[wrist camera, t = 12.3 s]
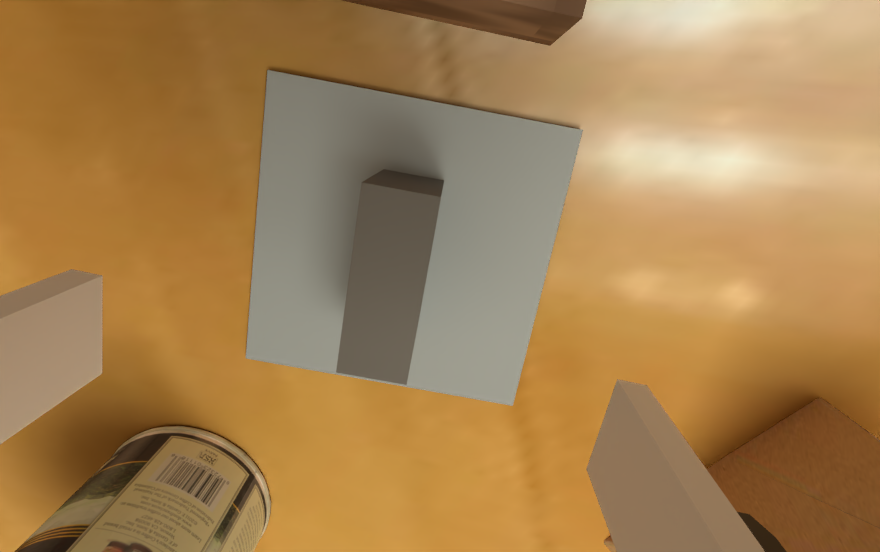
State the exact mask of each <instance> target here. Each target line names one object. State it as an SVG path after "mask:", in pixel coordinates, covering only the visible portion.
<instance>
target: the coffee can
mask: <svg viewBox="0 0 880 552" xmlns="http://www.w3.org/2000/svg"><path fill="white" fill-rule="evenodd" d="M270 509H271V500H270V496H269V490H268V487H267V484H266V481H265V479H264V477H263V475H262V473H261V472H260V470H259V468H258V467H257V466H256V464H255V463H254V462H253V461H252V460H251V459H250V457H249V456H248V455H247V454H246V453H245V452H244V451H242V450H241V449H239V448H238V447H236V446H235V445H234V444H232V443H231V442H229V441H228V440H226V439H224V438H222V437H220V436H218V435H216V434H213V433H211V432H208V431H204V430H201V429H197V428H191V427H185V426H165V427H159V428H153V429H149V430H147V431H144V432H141V433H139V434H137V435H135V436H133V437H132V438H130V439H129V440H127V441H126V442H124V443H123V444H122V445H121V446H120V447H119V448H118V449H117V451H116V452H115V453H114V455H113V456H112V457H111V458H110V459H109V460H108V461H107V462H106V463H105V464H104V465H103V466H102V467H101V468H100V469H99V470H98V471H97V472H96V473H95V474H94V475H93V476H92V477H91V478H90V479H88V480H87V482H86V483H85V484H84V485H83V486H82V487H81V488H80V489H78V490H77V491H76V492H75V493H74V494H73V495H72V496H71V497H70V498H69V499H68V500H67V501H66V502H65V503H64V504H63V505H62V506H61V507H60V508H59V509H58V510H57V511H56V512H55V513H54V514H53V515H52V516H51V517H50V518H49V519H48V520H47V521H46V522H45V523H44V524H43V525H42V526H41V527H40V528H39V529H38V530H37V531H35V532H34V533H33V534H32V535H31V536H30V537H29V538H28V539H27V540H26V541H25V542H24V543H23V544H22V545H21V546H20V547H19V548H18V549H17V550H16V551H15V552H254V550H255V548H256V546H257V544H258V542H259V540H260V538H261V537H262V535H263V533H264V532H265V530H266V528H267V525H268V522H269V517H270Z"/></svg>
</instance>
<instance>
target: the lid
mask: <svg viewBox="0 0 880 552" xmlns="http://www.w3.org/2000/svg"><path fill="white" fill-rule="evenodd" d="M582 131H583V130H580V129H575V128H570V127H564V126H559V125H554V124H549V123H543V122H538V121H533V120H528V119H523V118H517V117H512V116H507V115H502V114H496V113H491V112H486V111H481V110H475V109H470V108H465V107H460V106H454V105H449V104H444V103H439V102H433V101H428V100H423V99H418V98H412V97H407V96H402V95H397V94H392V93H386V92H381V91H376V90H371V89H365V88H360V87H355V86H350V85H344V84H339V83H334V82H329V81H323V80H318V79H313V78H308V77H302V76H297V75H292V74H287V73H281V72H276V71H271V70H267V83H266V96H265V110H264V123H263V136H262V149H261V163H260V176H259V189H258V202H257V216H256V229H255V242H254V255H253V269H252V282H251V295H250V309H249V322H248V335H247V348H246V358H247V359H252V360H258V361H264V362H269V363H275V364H281V365H286V366H292V367H297V368H303V369H309V370H314V371H320V372H326V373H331V374H337V375H343V376H348V377H354V378H359V379H365V380H371V381H376V382H382V383H388V384H393V385H399V386H404V387H410V388H416V389H421V390H427V391H433V392H438V393H444V394H450V395H455V396H461V397H466V398H472V399H478V400H483V401H489V402H495V403H500V404H506V405H511V406H513V403H514V399H515V395H516V391H517V387H518V383H519V379H520V375H521V371H522V367H523V363H524V359H525V355H526V351H527V348H528V344H529V340H530V336H531V332H532V328H533V324H534V320H535V316H536V312H537V308H538V304H539V300H540V296H541V292H542V289H543V285H544V281H545V277H546V273H547V269H548V265H549V261H550V257H551V253H552V249H553V245H554V241H555V237H556V233H557V230H558V226H559V222H560V218H561V214H562V210H563V206H564V202H565V198H566V194H567V190H568V186H569V182H570V178H571V174H572V171H573V167H574V163H575V159H576V155H577V151H578V147H579V143H580V139H581V135H582Z"/></svg>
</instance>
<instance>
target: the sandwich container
mask: <svg viewBox="0 0 880 552" xmlns="http://www.w3.org/2000/svg"><path fill="white" fill-rule="evenodd" d="M707 471H708V472H709V474H710V475H711V476H712V478H713V479H714V481H715V482H716V483H717V485H718V486H719V488H720V489H721V490H722V492H723V493H724V495H725V496H726V497H727V499H728V500H729V502H730V503H731V504H732V506H733V507H734V509H735V510H736V511H737V512H741V513H746V514H750V515H751V516H752V517H753V518H754V519H755V520H757V521H758V522H759V523H760V524H761V525H762V526H763V527H765V528H766V529H767V530H768V531H769V532H770V533H771V534H773V535H774V536H775V537H776V538H777V540H778V541H779V542H780V544H781V545H782V546H783V548H784V549H785V550H786V552H880V440H879V439H877V438H876V437H875V436H873V435H872V434H870V433H869V432H868V431H866V430H865V429H864V428H862V427H861V426H859V425H858V424H857V423H855V422H854V421H853V420H851V419H850V418H848V417H847V416H846V415H844V414H843V413H842V412H840V411H839V410H837V409H836V408H835V407H833V406H832V405H831V404H829V403H828V402H826V401H825V400H824V399H822V398H819V399H815V400H814V401H812V402H811V403H809V404H808V405H806V406H804V407H803V408H801V409H800V410H798V411H796V412H795V413H793V414H792V415H790V416H789V417H787V418H785V419H784V420H782V421H781V422H779V423H777V424H776V425H774V426H773V427H771V428H769V429H768V430H766V431H765V432H763V433H762V434H760V435H758V436H757V437H755V438H754V439H752V440H750V441H749V442H747V443H746V444H744V445H743V446H741V447H739V448H738V449H736V450H735V451H733V452H731V453H730V454H728V455H727V456H725V457H724V458H722V459H721V460H719V461H718V462H717V463H715V464H714V465H712V466H711V467H709V468H708V469H707ZM604 544H605V545H606V546H607V547H608V548H609V550H610V551H611V552H617V551H616V549H615V546H614V543H613V540H612V538H611V536H610V537H609V538H607V539H606V540H604Z"/></svg>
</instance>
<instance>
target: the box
mask: <svg viewBox="0 0 880 552" xmlns="http://www.w3.org/2000/svg"><path fill="white" fill-rule="evenodd" d="M343 1H348V2H352V3H357V4H361V5H366V6H371V7H375V8H380V9H384V10H389V11H394V12H398V13H403V14H407V15H412V16H417V17H421V18H426V19H431V20H435V21H440V22H444V23H449V24H454V25H458V26H463V27H467V28H472V29H477V30H481V31H486V32H490V33H495V34H500V35H504V36H509V37H513V38H518V39H523V40H527V41H532V42H536V43H541V44H546V45H551V44H552V43H554V42H555V41H556V40H557V39H558V38H559V37H561V36H562V35H563V34H564V33H565V32H566V31H568V30H569V29H570V28H571V27H572V26H573V25H575V24H576V23H577V22H578V21H579V20H580V19H582V16H583V12H584V8H585V4H586V0H343Z"/></svg>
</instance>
